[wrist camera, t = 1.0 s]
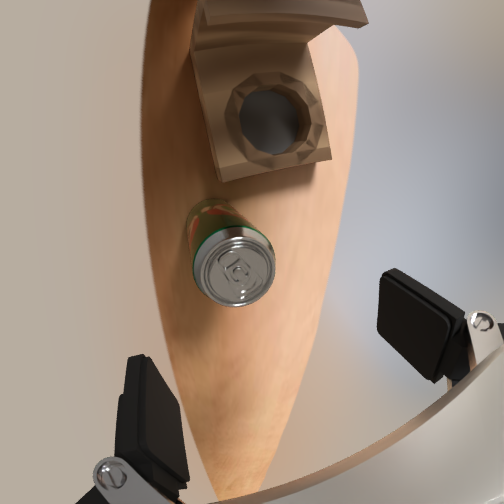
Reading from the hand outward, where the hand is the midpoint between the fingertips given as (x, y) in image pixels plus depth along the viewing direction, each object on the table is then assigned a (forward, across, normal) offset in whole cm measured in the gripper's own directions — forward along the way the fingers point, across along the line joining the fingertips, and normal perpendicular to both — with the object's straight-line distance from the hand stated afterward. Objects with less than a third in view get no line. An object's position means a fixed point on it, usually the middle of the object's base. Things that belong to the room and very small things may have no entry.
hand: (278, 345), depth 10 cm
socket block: (+18, -7, -11) cm, 22 cm away
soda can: (+18, 0, 0) cm, 18 cm away
